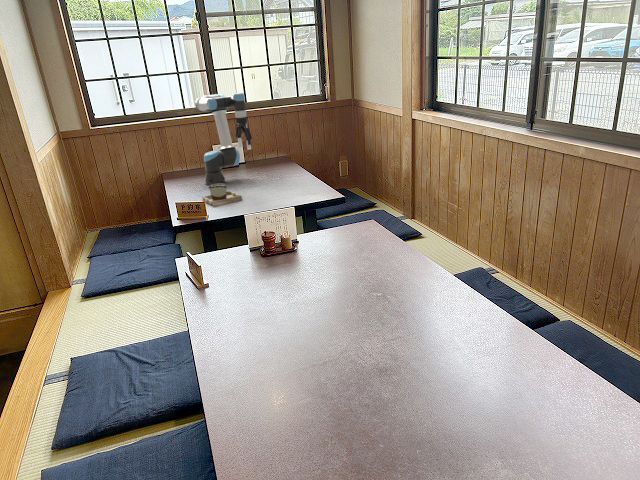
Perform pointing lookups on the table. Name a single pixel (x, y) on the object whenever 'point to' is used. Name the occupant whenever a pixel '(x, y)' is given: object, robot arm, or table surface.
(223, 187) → the food container
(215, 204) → the tray
